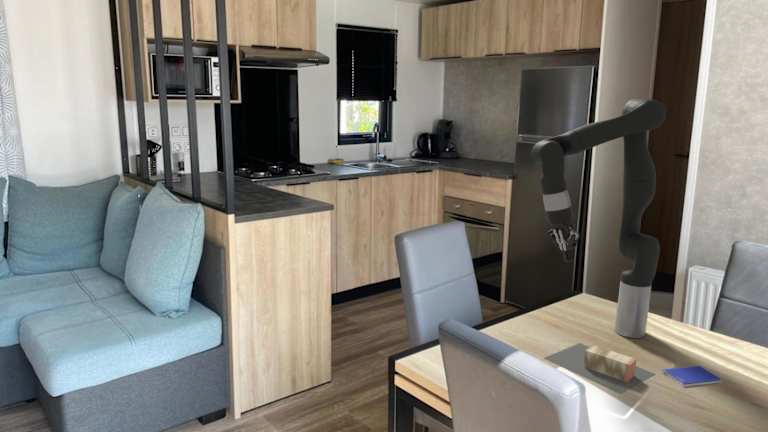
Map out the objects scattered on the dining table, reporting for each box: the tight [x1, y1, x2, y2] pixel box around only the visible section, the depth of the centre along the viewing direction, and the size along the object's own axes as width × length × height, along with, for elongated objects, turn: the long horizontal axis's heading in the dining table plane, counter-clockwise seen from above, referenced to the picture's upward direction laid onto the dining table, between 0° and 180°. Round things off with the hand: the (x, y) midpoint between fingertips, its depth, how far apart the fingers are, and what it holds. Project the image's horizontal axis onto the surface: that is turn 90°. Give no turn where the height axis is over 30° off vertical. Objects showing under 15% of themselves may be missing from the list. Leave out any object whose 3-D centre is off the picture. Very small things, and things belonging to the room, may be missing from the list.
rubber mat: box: [543, 342, 656, 394], centre depth 160 cm, size 18×24×1 cm
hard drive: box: [661, 365, 722, 387], centre depth 156 cm, size 2×8×12 cm
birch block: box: [584, 344, 637, 382], centre depth 156 cm, size 5×5×12 cm
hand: (568, 261), depth 171 cm, fingers closed
